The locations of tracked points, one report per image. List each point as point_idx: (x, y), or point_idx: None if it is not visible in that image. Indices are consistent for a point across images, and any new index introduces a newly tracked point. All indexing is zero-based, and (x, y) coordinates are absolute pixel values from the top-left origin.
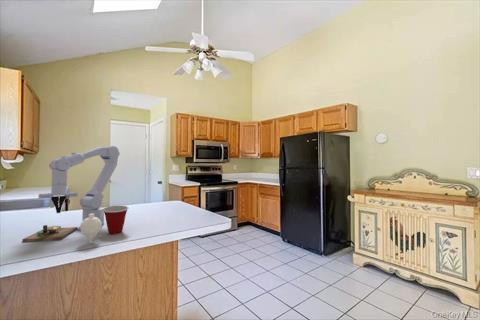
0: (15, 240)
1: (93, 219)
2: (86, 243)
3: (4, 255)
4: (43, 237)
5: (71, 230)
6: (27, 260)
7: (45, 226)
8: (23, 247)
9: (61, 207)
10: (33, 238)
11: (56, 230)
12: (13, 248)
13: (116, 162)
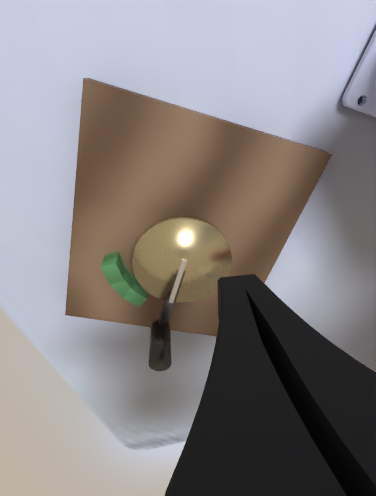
0: (10, 261)
1: None
2: None
3: (89, 407)
4: (157, 319)
5: (283, 239)
6: (168, 442)
7: (164, 367)
8: (111, 363)
9: (289, 315)
10: (115, 319)
11: (195, 199)
12: (79, 363)
13: None
